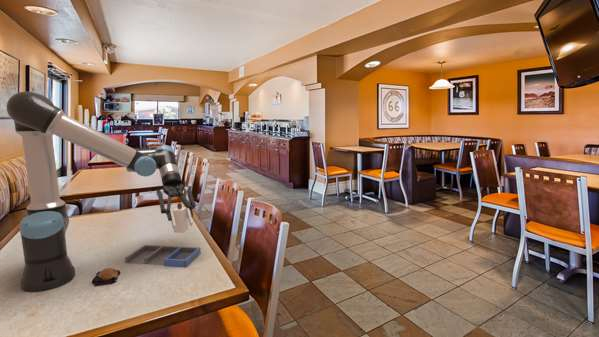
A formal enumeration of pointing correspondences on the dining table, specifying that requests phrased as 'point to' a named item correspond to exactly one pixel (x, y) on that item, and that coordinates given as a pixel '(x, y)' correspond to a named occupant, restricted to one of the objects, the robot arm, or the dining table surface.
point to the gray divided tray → (163, 255)
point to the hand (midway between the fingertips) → (183, 225)
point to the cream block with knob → (180, 218)
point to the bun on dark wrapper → (106, 277)
